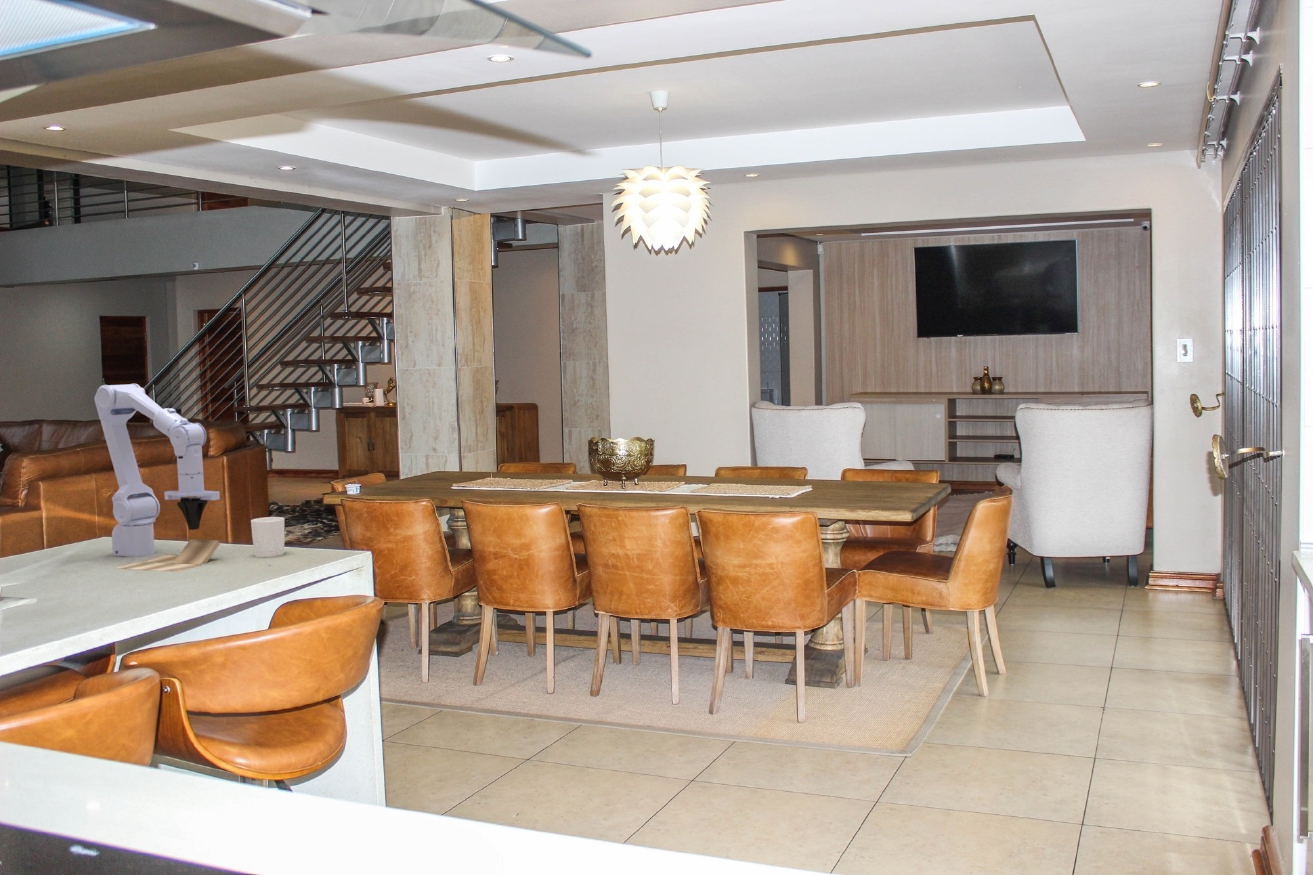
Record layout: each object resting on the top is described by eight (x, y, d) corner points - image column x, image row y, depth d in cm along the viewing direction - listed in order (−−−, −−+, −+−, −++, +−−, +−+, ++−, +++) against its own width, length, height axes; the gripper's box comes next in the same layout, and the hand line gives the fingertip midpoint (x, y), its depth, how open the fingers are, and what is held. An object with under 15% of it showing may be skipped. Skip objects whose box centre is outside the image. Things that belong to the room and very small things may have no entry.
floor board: (115, 573, 268) (114, 568, 268) (139, 566, 276) (139, 561, 276) (178, 576, 263) (178, 571, 263) (201, 569, 270) (201, 564, 270)
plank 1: (144, 566, 276) (143, 561, 276) (167, 559, 283) (166, 554, 283) (171, 567, 273) (171, 562, 273) (194, 560, 281) (193, 555, 281)
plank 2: (175, 566, 274) (172, 562, 273) (192, 542, 280) (190, 539, 279) (202, 567, 271) (200, 564, 271) (219, 544, 277) (217, 540, 277)
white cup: (291, 556, 286) (289, 516, 285) (278, 562, 278) (276, 521, 277) (261, 556, 287) (259, 516, 286) (247, 562, 279) (245, 521, 278)
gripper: (154, 475, 274) (157, 531, 275) (204, 475, 270) (207, 532, 271) (174, 472, 281) (178, 526, 282) (224, 472, 277) (227, 527, 278)
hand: (194, 529), depth 277 cm, fingers closed
